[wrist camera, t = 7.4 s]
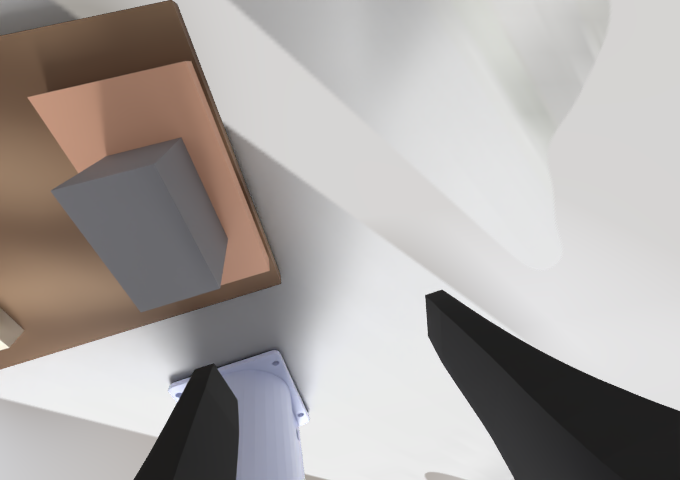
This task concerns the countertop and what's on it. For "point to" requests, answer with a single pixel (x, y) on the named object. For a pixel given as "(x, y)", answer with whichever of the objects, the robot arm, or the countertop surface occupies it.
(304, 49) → the countertop surface
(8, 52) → the board
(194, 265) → the pink grey stepped block
